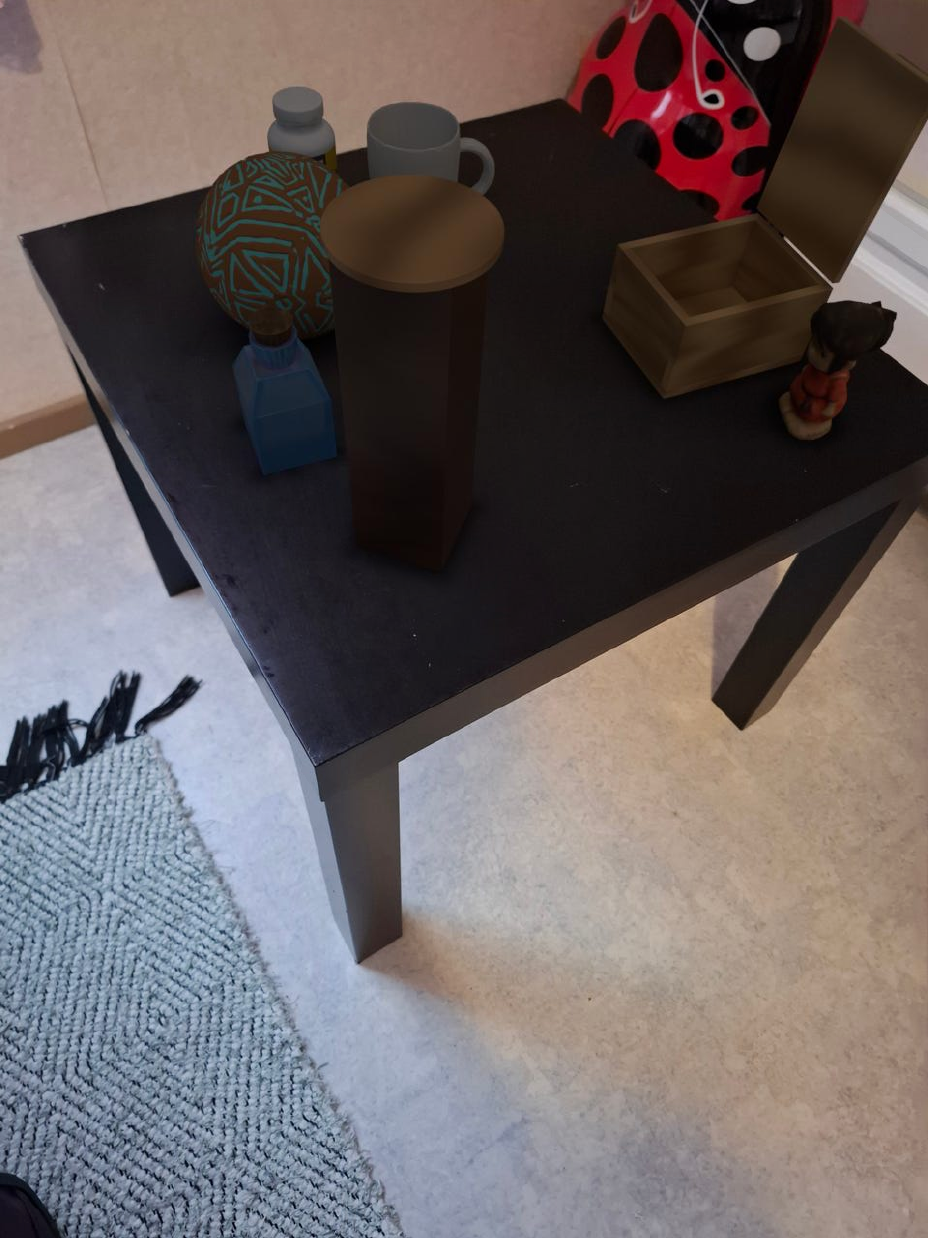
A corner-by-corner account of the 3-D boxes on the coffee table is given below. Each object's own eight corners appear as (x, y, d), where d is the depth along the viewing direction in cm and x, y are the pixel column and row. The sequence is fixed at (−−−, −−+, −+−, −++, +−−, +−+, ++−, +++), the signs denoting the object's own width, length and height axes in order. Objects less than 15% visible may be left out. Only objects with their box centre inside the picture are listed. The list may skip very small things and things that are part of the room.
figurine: (800, 384, 80) (855, 268, 70) (850, 419, 78) (914, 304, 68) (756, 413, 78) (806, 297, 68) (806, 450, 75) (865, 336, 65)
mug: (378, 252, 88) (375, 153, 80) (363, 202, 93) (358, 103, 85) (501, 240, 90) (509, 142, 82) (480, 191, 95) (486, 94, 87)
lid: (937, 88, 62) (989, 85, 64) (837, 16, 68) (887, 14, 70) (832, 283, 75) (878, 276, 76) (755, 208, 81) (800, 203, 82)
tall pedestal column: (494, 499, 71) (527, 197, 49) (453, 594, 65) (469, 301, 44) (379, 465, 72) (362, 158, 51) (329, 555, 67) (288, 255, 46)
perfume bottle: (337, 456, 73) (324, 338, 63) (263, 475, 71) (238, 356, 61) (315, 406, 76) (300, 286, 66) (244, 423, 74) (217, 303, 64)
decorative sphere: (183, 313, 82) (140, 153, 69) (314, 253, 88) (296, 96, 75) (276, 400, 76) (248, 243, 63) (409, 330, 82) (408, 173, 69)
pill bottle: (291, 239, 89) (276, 122, 79) (268, 206, 92) (251, 88, 82) (351, 224, 91) (343, 108, 81) (326, 192, 94) (316, 75, 84)
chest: (663, 399, 78) (685, 325, 72) (601, 318, 84) (617, 243, 77) (800, 361, 82) (833, 287, 75) (732, 286, 88) (757, 212, 81)
